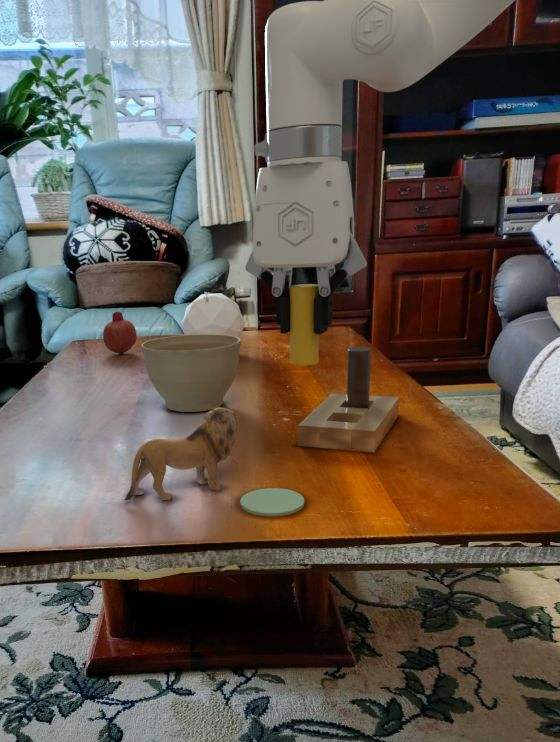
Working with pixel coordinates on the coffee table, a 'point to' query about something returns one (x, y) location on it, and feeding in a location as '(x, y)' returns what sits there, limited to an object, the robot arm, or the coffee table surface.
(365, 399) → the walnut peg
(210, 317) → the geodesic sphere
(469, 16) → the robot arm
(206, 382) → the planter bowl
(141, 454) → the lion figurine
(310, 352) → the yellow peg
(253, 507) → the coaster
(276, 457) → the coffee table surface
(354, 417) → the stand
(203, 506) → the coffee table surface
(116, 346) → the fruit
